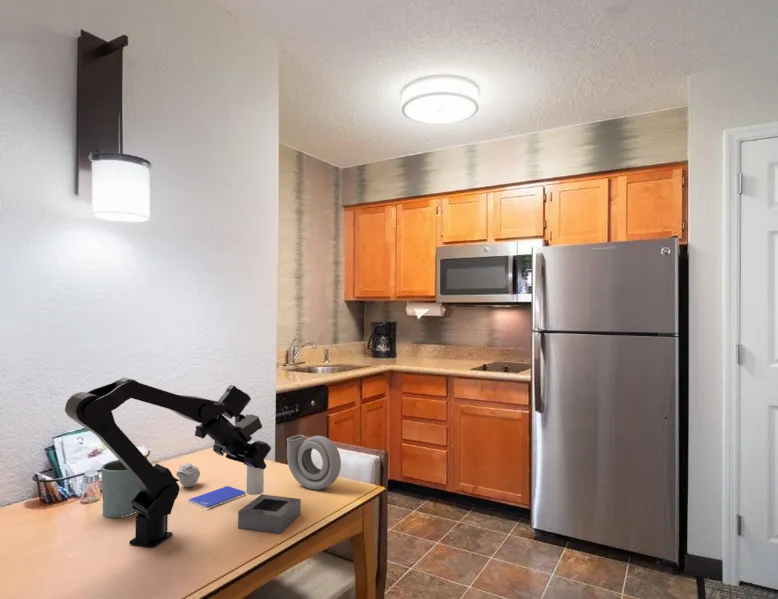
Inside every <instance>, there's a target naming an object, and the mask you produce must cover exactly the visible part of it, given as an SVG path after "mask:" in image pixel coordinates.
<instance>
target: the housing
mask: <svg viewBox="0 0 778 599" xmlns="http://www.w3.org/2000/svg"><path fill="white" fill-rule="evenodd" d="M301 502H302V499H301V498H298V497H297V498H295V497H287V496H286V497H285V496H280V495H279V496H278V495H272V494H270V495H269V494H264V493H261V494H259V496H257V497H256V498H255V499H253V500H251V501H250V502H249V503H247V504H246V505H245V506H244V507H242V508H240V509H239V510H238V511H237V520H238V521H237V528H238V529H242V530H249V531H257V532H261V533H262V532H263V533H271V534H276V535H277V534H278V535H281V533H283V532H284V531H285V530H286V529H287V528H288V527H290V525H292V523H293V522H295V521H296V520H297V519H298V518H299V517H300V516H301V515H302V514H301V512H302V511H301V509H302V508H301V507H302V504H301ZM298 516H299V517H298ZM297 517H298V518H297ZM296 518H297V519H296ZM295 519H296V520H295ZM294 520H295V521H294Z"/></svg>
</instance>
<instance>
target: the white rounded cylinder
mask: <svg viewBox="0 0 778 599" xmlns="http://www.w3.org/2000/svg"><path fill="white" fill-rule="evenodd" d="M255 441H256V440H253V441H252V440H251V441H250V442H248V443H249V444H252V443H254V442H255ZM264 476H265V469H260V468H254V467H251V466H247V465H246V494H247V495H249V496H257V495H261V494H264V482H265V480H264V478H265V477H264Z"/></svg>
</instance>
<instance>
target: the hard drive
mask: <svg viewBox="0 0 778 599" xmlns="http://www.w3.org/2000/svg"><path fill="white" fill-rule="evenodd" d="M242 495H245V496H246V492H245V491H244V490H241V489H238V488H235V487H232V486H230V485H226V486H223V487H221V488H218V489H215V490H213V491H209V492H207V493H206V492H205V493H203V494H200V495H197V496H193V497H191V498H189V499H188V500H187V502H189V503H188V504H190V503H192V504H191V505H193V504H195V505H198V506H201V507H204V508H210V507H213V506H216V505H219V504H221V503H224V504H226V503H225V502H227V501H229V502H231V501H230V500H232V499H234V500H236V499H235V498H237V497H239V496H242ZM242 497H243V496H242ZM237 499H238V498H237ZM232 501H233V500H232ZM227 503H228V502H227ZM195 505H194V506H195ZM221 505H222V504H221ZM198 506H197V507H198ZM219 506H220V505H219ZM216 507H217V506H216Z"/></svg>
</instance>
